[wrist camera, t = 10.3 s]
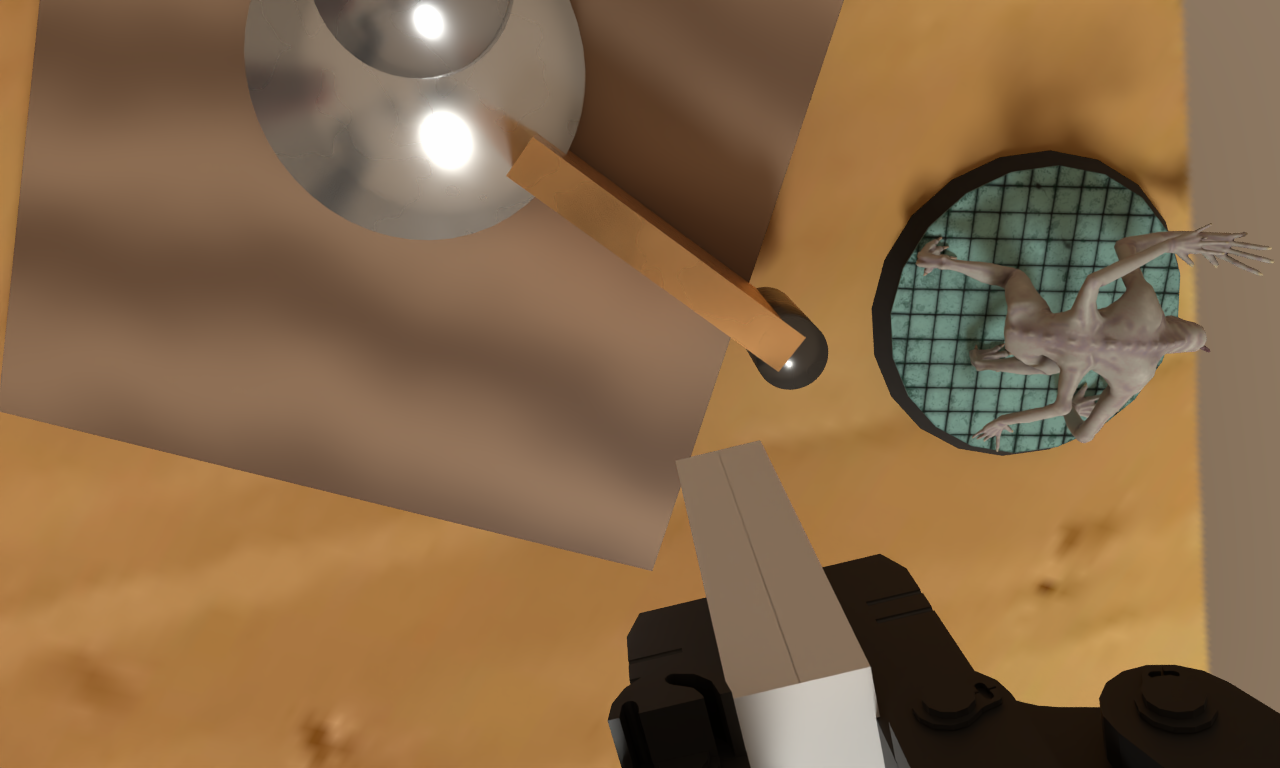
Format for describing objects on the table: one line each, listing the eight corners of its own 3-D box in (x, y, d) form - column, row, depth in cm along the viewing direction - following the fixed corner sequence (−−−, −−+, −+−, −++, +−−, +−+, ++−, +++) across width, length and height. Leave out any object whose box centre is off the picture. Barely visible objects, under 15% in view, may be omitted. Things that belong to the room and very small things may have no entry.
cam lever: (940, 139, 28) (1004, 148, 24) (702, 439, 31) (720, 496, 26) (439, -278, 24) (404, -358, 20) (215, 106, 27) (141, 108, 23)
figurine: (1166, 458, 34) (1284, 533, 29) (851, 455, 34) (905, 532, 28) (1232, 151, 31) (1381, 164, 25) (883, 141, 30) (952, 153, 25)
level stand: (649, 544, 34) (652, 575, 32) (33, 391, 31) (-9, 414, 29) (879, -151, 28) (903, -172, 25) (126, -423, 25) (81, -472, 23)
